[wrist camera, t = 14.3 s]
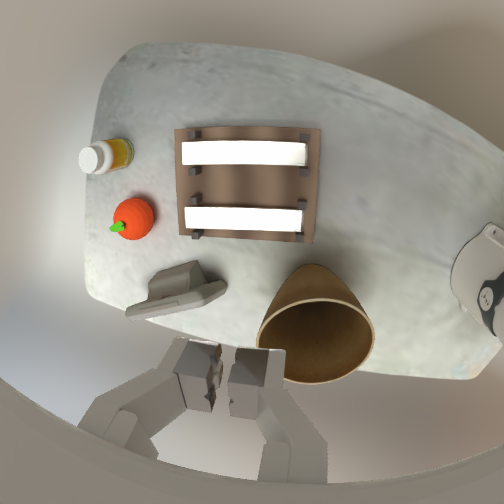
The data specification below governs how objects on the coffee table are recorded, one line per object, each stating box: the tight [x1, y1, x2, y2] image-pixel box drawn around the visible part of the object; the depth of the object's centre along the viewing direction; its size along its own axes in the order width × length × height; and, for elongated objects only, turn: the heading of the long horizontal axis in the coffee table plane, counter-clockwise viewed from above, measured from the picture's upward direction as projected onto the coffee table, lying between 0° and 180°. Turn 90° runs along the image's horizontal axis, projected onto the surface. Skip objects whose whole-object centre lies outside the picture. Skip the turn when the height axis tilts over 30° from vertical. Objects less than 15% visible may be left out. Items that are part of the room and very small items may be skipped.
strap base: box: [174, 126, 320, 243], centre depth 38 cm, size 20×16×7 cm
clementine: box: [110, 198, 154, 240], centre depth 43 cm, size 8×7×7 cm
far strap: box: [185, 206, 305, 232], centre depth 38 cm, size 16×3×1 cm, turn 90°
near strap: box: [182, 141, 308, 166], centre depth 34 cm, size 16×3×1 cm, turn 89°
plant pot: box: [256, 264, 375, 384], centre depth 39 cm, size 15×15×16 cm
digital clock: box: [125, 260, 227, 321], centre depth 45 cm, size 16×9×11 cm, turn 100°
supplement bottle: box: [79, 139, 134, 175], centre depth 38 cm, size 5×5×10 cm
